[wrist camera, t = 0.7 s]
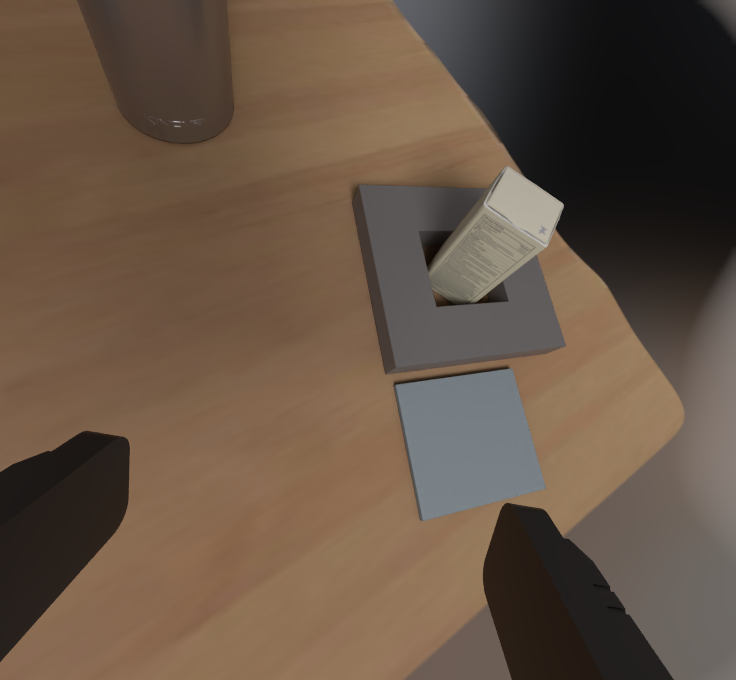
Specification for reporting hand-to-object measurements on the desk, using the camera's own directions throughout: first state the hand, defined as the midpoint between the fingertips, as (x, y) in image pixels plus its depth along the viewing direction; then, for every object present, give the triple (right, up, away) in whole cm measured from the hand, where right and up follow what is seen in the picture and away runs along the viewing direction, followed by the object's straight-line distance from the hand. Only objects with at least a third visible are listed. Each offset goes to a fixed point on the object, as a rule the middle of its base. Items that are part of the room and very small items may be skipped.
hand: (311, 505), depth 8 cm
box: (+9, +9, +27) cm, 30 cm away
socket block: (+9, +9, +27) cm, 30 cm away
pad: (+9, -4, +23) cm, 25 cm away
